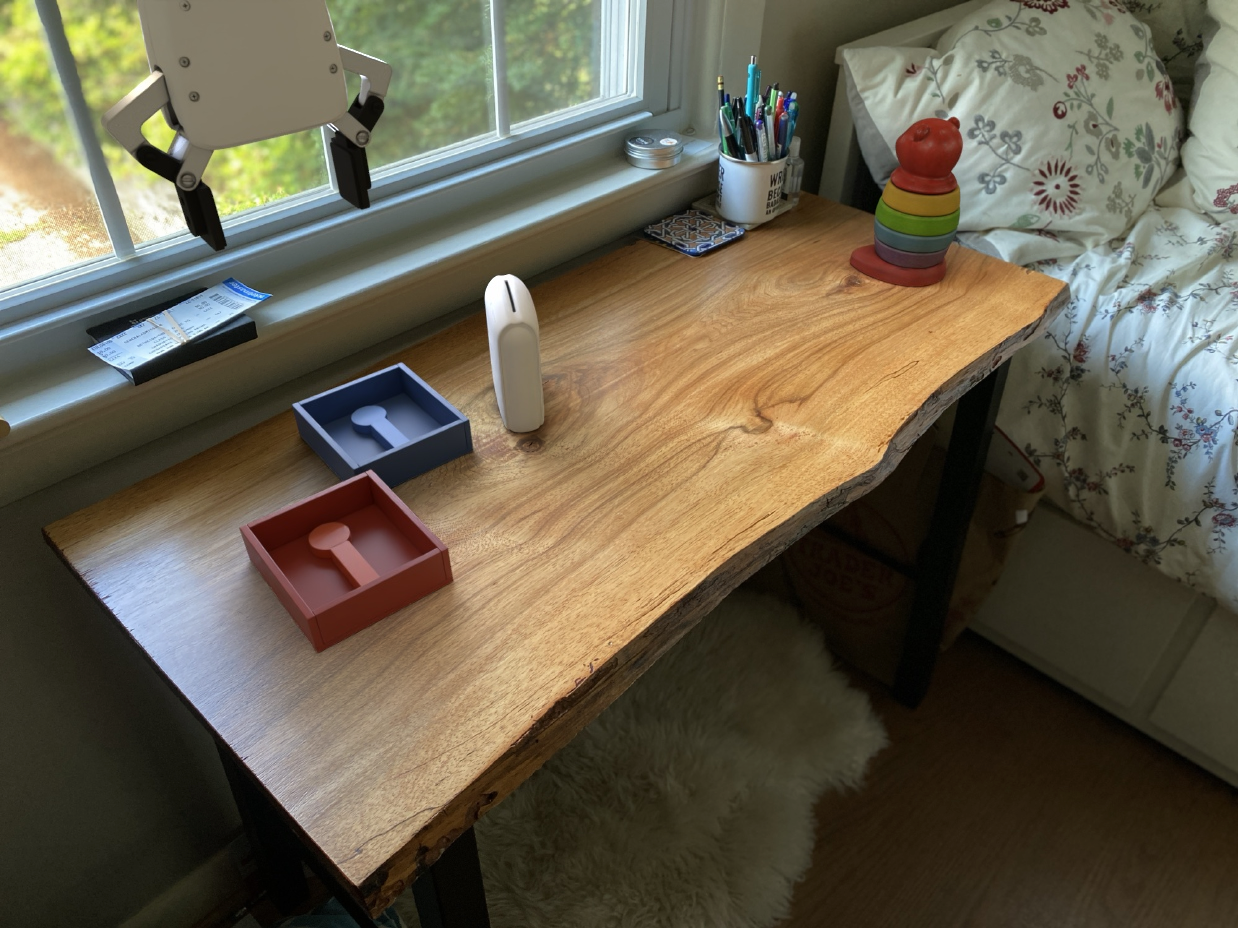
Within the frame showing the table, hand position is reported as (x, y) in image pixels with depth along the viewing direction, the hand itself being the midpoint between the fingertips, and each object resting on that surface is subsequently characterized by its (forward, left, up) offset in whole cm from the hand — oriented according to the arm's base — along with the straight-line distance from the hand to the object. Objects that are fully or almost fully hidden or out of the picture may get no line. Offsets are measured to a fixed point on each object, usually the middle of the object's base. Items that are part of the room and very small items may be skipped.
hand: (287, 222), depth 60 cm
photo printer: (+20, +6, -26) cm, 34 cm away
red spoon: (-3, -4, -26) cm, 26 cm away
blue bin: (+7, +8, -26) cm, 29 cm away
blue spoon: (+7, +8, -26) cm, 28 cm away
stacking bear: (+72, 0, -26) cm, 77 cm away
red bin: (-3, -4, -26) cm, 27 cm away
